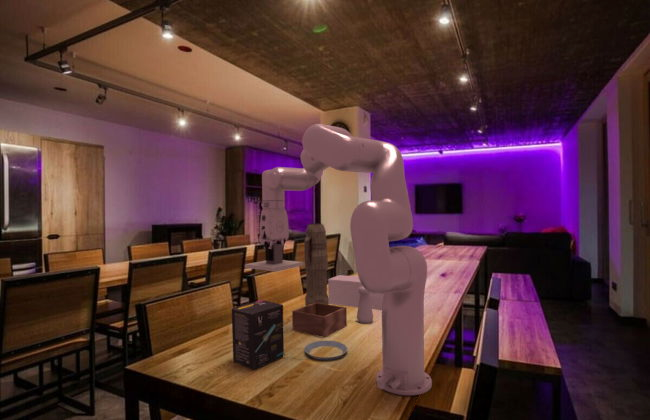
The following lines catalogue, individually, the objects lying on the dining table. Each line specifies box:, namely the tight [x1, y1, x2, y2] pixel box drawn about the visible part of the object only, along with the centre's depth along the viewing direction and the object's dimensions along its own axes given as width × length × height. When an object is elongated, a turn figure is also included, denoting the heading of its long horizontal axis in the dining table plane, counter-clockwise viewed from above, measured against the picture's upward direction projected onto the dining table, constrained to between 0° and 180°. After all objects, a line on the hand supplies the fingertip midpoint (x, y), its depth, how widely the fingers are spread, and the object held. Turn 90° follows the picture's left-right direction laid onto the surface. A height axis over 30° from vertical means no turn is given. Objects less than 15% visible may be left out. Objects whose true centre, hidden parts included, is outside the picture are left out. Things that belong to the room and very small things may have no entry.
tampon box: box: [231, 299, 285, 371], centre depth 98 cm, size 11×9×15 cm
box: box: [291, 302, 348, 338], centre depth 121 cm, size 13×13×7 cm
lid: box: [244, 242, 304, 272], centre depth 123 cm, size 14×14×8 cm
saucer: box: [304, 340, 348, 361], centre depth 100 cm, size 12×12×2 cm
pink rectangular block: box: [327, 274, 384, 311], centre depth 151 cm, size 32×11×11 cm, turn 62°
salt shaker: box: [356, 286, 374, 324], centre depth 127 cm, size 6×6×13 cm
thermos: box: [303, 222, 330, 307], centre depth 139 cm, size 9×12×35 cm
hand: (274, 259), depth 123 cm, fingers closed on lid, 4 cm apart
